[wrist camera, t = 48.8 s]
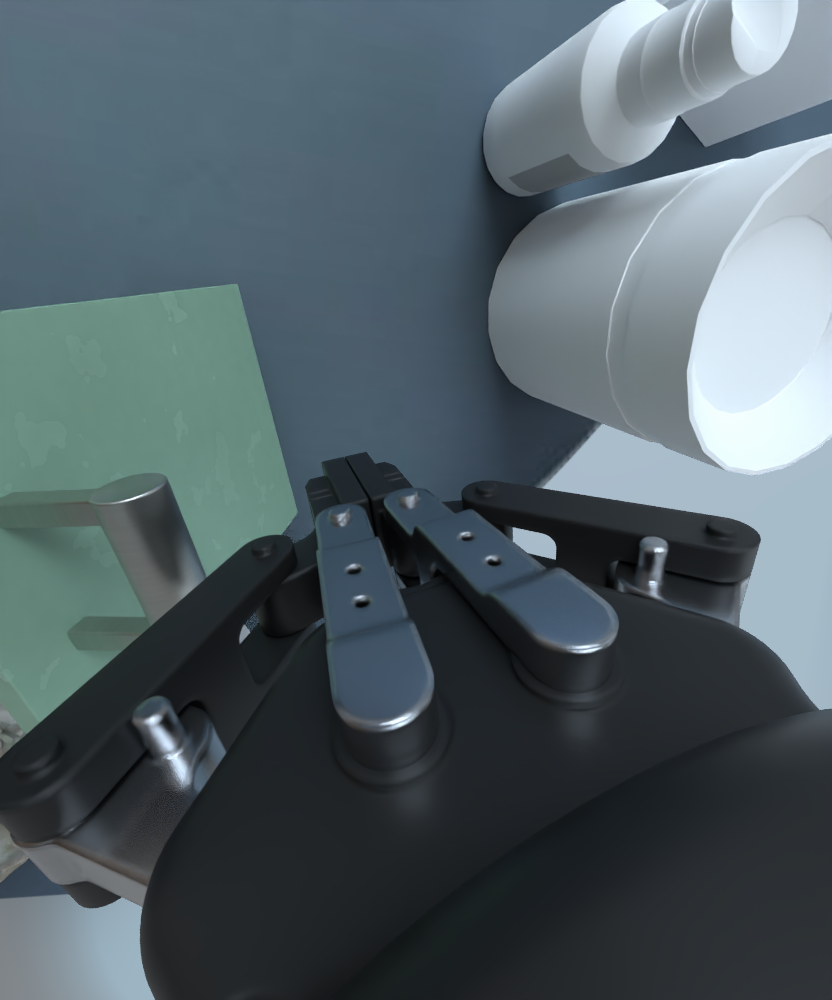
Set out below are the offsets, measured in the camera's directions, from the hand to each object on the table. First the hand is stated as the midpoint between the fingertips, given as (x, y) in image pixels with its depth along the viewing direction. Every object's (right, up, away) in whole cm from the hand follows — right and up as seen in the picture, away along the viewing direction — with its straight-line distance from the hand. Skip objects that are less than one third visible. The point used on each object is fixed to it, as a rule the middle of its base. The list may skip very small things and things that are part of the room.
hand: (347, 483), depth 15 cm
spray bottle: (+10, +26, +18) cm, 33 cm away
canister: (+16, +16, +25) cm, 34 cm away
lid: (-7, 0, +2) cm, 8 cm away
